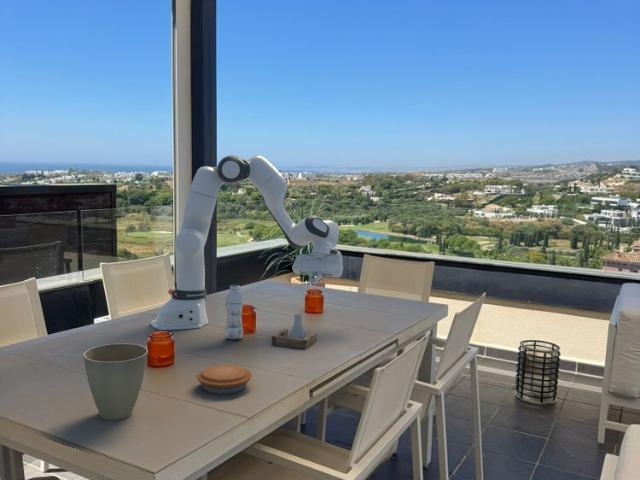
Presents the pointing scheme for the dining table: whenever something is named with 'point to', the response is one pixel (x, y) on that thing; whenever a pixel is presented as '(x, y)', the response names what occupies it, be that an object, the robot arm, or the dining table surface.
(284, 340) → the walnut bay
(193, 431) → the dining table surface
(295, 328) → the flask
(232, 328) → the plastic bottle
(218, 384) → the pie
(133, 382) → the plant pot
